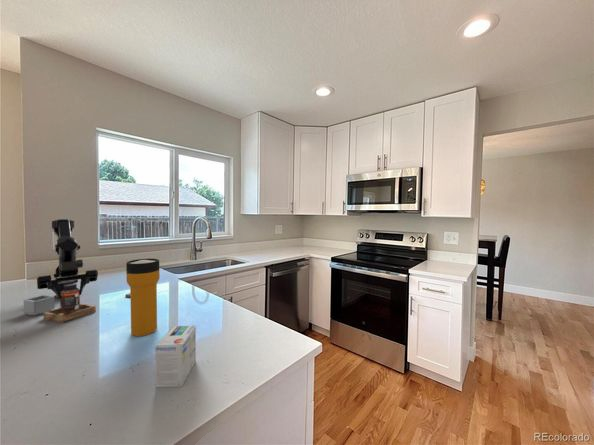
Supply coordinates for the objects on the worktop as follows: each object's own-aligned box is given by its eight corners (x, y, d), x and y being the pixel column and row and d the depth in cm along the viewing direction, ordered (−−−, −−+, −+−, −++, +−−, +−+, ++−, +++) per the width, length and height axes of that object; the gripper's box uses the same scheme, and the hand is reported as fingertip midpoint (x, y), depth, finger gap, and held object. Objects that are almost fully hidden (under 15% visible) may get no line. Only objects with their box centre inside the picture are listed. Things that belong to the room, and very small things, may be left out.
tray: (43, 318, 99) (43, 312, 99) (77, 308, 110) (77, 302, 110) (63, 323, 95) (62, 316, 95) (95, 311, 106) (95, 305, 106)
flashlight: (119, 261, 85) (145, 256, 94) (120, 335, 86) (146, 323, 95) (140, 263, 82) (165, 258, 91) (141, 340, 83) (166, 327, 92)
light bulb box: (172, 362, 71) (172, 325, 71) (196, 361, 72) (196, 324, 71) (154, 388, 60) (153, 345, 60) (182, 387, 61) (182, 344, 61)
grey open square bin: (23, 314, 103) (23, 299, 103) (44, 307, 110) (44, 294, 110) (34, 316, 101) (33, 301, 101) (55, 309, 108) (54, 296, 107)
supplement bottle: (82, 310, 104) (82, 283, 103) (64, 315, 98) (64, 287, 98) (75, 307, 106) (75, 281, 106) (57, 312, 101) (57, 285, 101)
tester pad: (125, 297, 125) (125, 293, 125) (134, 293, 130) (134, 290, 130) (137, 298, 122) (137, 295, 122) (146, 295, 127) (146, 292, 127)
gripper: (36, 256, 98) (36, 290, 90) (96, 251, 111) (101, 281, 104) (37, 272, 103) (37, 305, 96) (94, 266, 117) (98, 294, 110)
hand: (70, 296), depth 101 cm, fingers closed on supplement bottle, 6 cm apart
